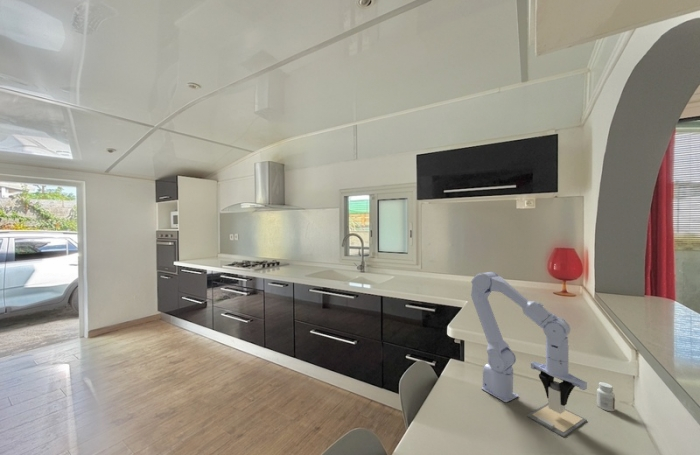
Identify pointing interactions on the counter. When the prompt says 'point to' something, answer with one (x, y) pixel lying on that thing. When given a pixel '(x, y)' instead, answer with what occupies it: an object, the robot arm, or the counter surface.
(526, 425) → the counter surface
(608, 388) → the pill bottle
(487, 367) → the robot arm
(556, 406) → the block with domed cap
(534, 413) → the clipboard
